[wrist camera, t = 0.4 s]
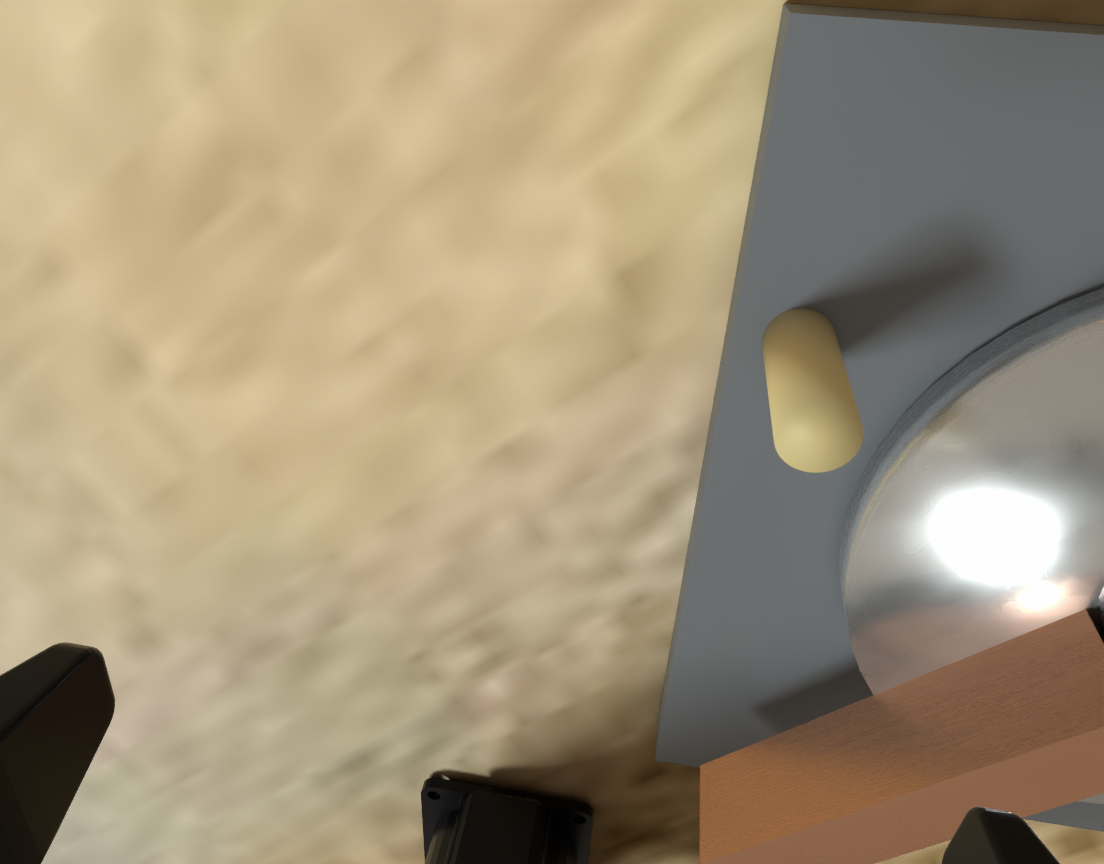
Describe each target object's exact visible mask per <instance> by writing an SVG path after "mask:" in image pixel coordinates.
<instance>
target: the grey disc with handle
mask: <svg viewBox="0 0 1104 864" xmlns="http://www.w3.org/2000/svg"><path fill="white" fill-rule="evenodd" d="M838 574H839V581H840V588H841V595H842V601H843V606H844V612H845V617H846V622H847V627H848V632H849V638H850V643H851V647H852V649H853V652H854V655H855V658H856V661H857V664H858V667H859V670H860V672H861V674H862V676H863V677H864V679H865V681H866V683H867V684H868V686H869V688H870V690H871V692H872V693H873V696H870V697H868V698H865V699H863V700H860V701H858V702H855V703H853V704H851V705H848V706H846V707H843V708H841V709H838V710H836V711H833V712H831V713H828V714H826V715H823V716H821V717H819V718H816V719H814V720H811V721H809V722H806V723H804V724H801V725H799V726H796V727H794V728H791V729H789V730H786V731H784V732H782V733H779V734H777V735H774V736H772V737H769V738H767V739H764V740H762V741H759V742H757V743H754V744H752V745H750V746H747V747H745V748H742V749H740V750H737V751H735V752H732V753H730V754H727V755H725V756H722V757H720V758H718V759H715V760H713V761H710V762H708V763H705V764H703V765H700V857H699V864H874V863H877V862H880V861H883V860H887V859H890V858H893V857H896V856H900V855H903V854H906V853H910V852H913V851H916V850H919V849H923V848H926V847H929V846H932V845H936V844H939V843H942V842H945V841H949V840H952V838H953V836H954V835H955V833H956V831H957V829H958V828H959V826H960V824H961V822H962V821H963V819H964V817H965V816H966V814H967V813H968V811H969V810H970V809H972V808H974V807H985V808H991V809H997V810H1002V811H1008V812H1011V813H1014V814H1016V815H1018V816H1019V817H1020V818H1023V817H1027V816H1030V815H1033V814H1037V813H1040V812H1043V811H1046V810H1050V809H1053V808H1056V807H1059V806H1063V805H1066V804H1069V803H1072V802H1076V801H1079V802H1088V803H1097V804H1104V287H1103V288H1101V289H1098V290H1096V291H1093V292H1091V293H1088V294H1086V295H1083V296H1080V297H1078V298H1075V299H1073V300H1070V301H1068V302H1065V303H1063V304H1060V305H1058V306H1056V307H1054V308H1052V309H1050V310H1048V311H1046V312H1044V313H1042V314H1040V315H1038V316H1036V317H1034V318H1032V319H1030V320H1028V321H1026V322H1024V323H1022V324H1020V325H1018V326H1016V327H1014V328H1012V329H1010V330H1009V331H1007V332H1006V333H1004V334H1003V335H1001V336H1000V337H998V338H996V339H995V340H993V341H992V342H990V343H989V344H987V345H986V346H984V347H982V348H981V349H979V350H978V351H976V352H975V353H973V354H972V355H970V356H968V357H967V358H966V359H965V360H963V361H962V362H961V363H960V364H958V365H957V366H956V367H955V368H953V369H952V370H951V371H950V372H948V373H947V374H946V375H945V376H943V377H942V378H941V379H940V380H939V381H937V382H936V383H935V384H934V385H932V386H931V387H930V388H929V389H928V390H927V391H926V392H925V393H924V394H923V395H922V396H921V397H920V398H919V399H918V400H917V401H916V402H915V403H914V404H913V405H912V406H911V407H910V408H909V409H908V410H907V411H906V412H905V413H904V414H903V415H902V416H901V417H900V419H899V420H898V421H897V423H896V424H895V425H894V427H893V428H892V429H891V430H890V432H889V433H888V434H887V436H886V437H885V438H884V440H883V441H882V442H881V443H880V445H879V446H878V447H877V449H876V450H875V452H874V454H873V455H872V457H871V459H870V461H869V462H868V464H867V466H866V468H865V469H864V471H863V473H862V475H861V476H860V478H859V480H858V482H857V485H856V487H855V490H854V492H853V495H852V497H851V500H850V503H849V505H848V508H847V510H846V513H845V518H844V523H843V527H842V532H841V537H840V542H839V564H838Z"/></svg>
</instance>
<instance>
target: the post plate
mask: <svg viewBox="0 0 1104 864" xmlns="http://www.w3.org/2000/svg"><path fill="white" fill-rule="evenodd" d="M1103 287H1104V25H1089V24H1075V23H1061V22H1046V21H1032V20H1018V19H1004V18H989V17H975V16H961V15H946V14H932V13H918V12H904V11H889V10H875V9H861V8H846V7H832V6H818V5H804V4H789V3H784V4H783V10H782V15H781V21H780V27H779V32H778V38H777V44H776V49H775V55H774V61H773V67H772V72H771V78H770V84H769V89H768V95H767V101H766V106H765V112H764V118H763V124H762V129H761V135H760V141H759V146H758V152H757V158H756V163H755V169H754V175H753V181H752V186H751V192H750V198H749V203H748V209H747V215H746V220H745V226H744V232H743V237H742V243H741V249H740V255H739V260H738V266H737V272H736V277H735V283H734V289H733V294H732V300H731V306H730V312H729V317H728V323H727V329H726V334H725V340H724V346H723V351H722V357H721V363H720V368H719V374H718V380H717V386H716V391H715V397H714V403H713V408H712V414H711V420H710V425H709V431H708V437H707V443H706V448H705V454H704V460H703V465H702V471H701V477H700V482H699V488H698V494H697V499H696V505H695V511H694V517H693V522H692V528H691V534H690V539H689V545H688V551H687V556H686V562H685V568H684V574H683V579H682V585H681V591H680V596H679V602H678V608H677V613H676V619H675V625H674V631H673V636H672V642H671V648H670V653H669V659H668V665H667V670H666V676H665V682H664V687H663V693H662V699H661V705H660V710H659V716H658V722H657V736H656V754H655V761H659V762H665V763H671V764H678V765H684V766H690V767H697V768H700V765H703V764H705V763H708V762H710V761H713V760H715V759H718V758H720V757H722V756H725V755H727V754H730V753H732V752H735V751H737V750H740V749H742V748H745V747H747V746H750V745H752V744H754V743H757V742H759V741H762V740H764V739H767V738H769V737H772V736H774V735H777V734H779V733H782V732H784V731H786V730H789V729H791V728H794V727H796V726H799V725H801V724H804V723H806V722H809V721H811V720H814V719H816V718H819V717H821V716H823V715H826V714H828V713H831V712H833V711H836V710H838V709H841V708H843V707H846V706H848V705H851V704H853V703H855V702H858V701H860V700H863V699H865V698H868V697H870V696H873V693H872V692H871V690H870V688H869V686H868V684H867V683H866V681H865V679H864V677H863V676H862V674H861V672H860V670H859V667H858V664H857V661H856V658H855V655H854V652H853V649H852V647H851V643H850V638H849V632H848V627H847V622H846V617H845V612H844V606H843V601H842V595H841V588H840V581H839V574H838V564H839V542H840V537H841V532H842V527H843V523H844V518H845V513H846V510H847V508H848V505H849V503H850V500H851V497H852V495H853V492H854V490H855V487H856V485H857V482H858V480H859V478H860V476H861V475H862V473H863V471H864V469H865V468H866V466H867V464H868V462H869V461H870V459H871V457H872V455H873V454H874V452H875V450H876V449H877V447H878V446H879V445H880V443H881V442H882V441H883V440H884V438H885V437H886V436H887V434H888V433H889V432H890V430H891V429H892V428H893V427H894V425H895V424H896V423H897V421H898V420H899V419H900V417H901V416H902V415H903V414H904V413H905V412H906V411H907V410H908V409H909V408H910V407H911V406H912V405H913V404H914V403H915V402H916V401H917V400H918V399H919V398H920V397H921V396H922V395H923V394H924V393H925V392H926V391H927V390H928V389H929V388H930V387H931V386H932V385H934V384H935V383H936V382H937V381H939V380H940V379H941V378H942V377H943V376H945V375H946V374H947V373H948V372H950V371H951V370H952V369H953V368H955V367H956V366H957V365H958V364H960V363H961V362H962V361H963V360H965V359H966V358H967V357H968V356H970V355H972V354H973V353H975V352H976V351H978V350H979V349H981V348H982V347H984V346H986V345H987V344H989V343H990V342H992V341H993V340H995V339H996V338H998V337H1000V336H1001V335H1003V334H1004V333H1006V332H1007V331H1009V330H1010V329H1012V328H1014V327H1016V326H1018V325H1020V324H1022V323H1024V322H1026V321H1028V320H1030V319H1032V318H1034V317H1036V316H1038V315H1040V314H1042V313H1044V312H1046V311H1048V310H1050V309H1052V308H1054V307H1056V306H1058V305H1060V304H1063V303H1065V302H1068V301H1070V300H1073V299H1075V298H1078V297H1080V296H1083V295H1086V294H1088V293H1091V292H1093V291H1096V290H1098V289H1101V288H1103ZM1021 819H1027V820H1033V821H1040V822H1046V823H1052V824H1059V825H1065V826H1072V827H1078V828H1084V829H1091V830H1097V831H1103V832H1104V804H1097V803H1088V802H1079V801H1076V802H1072V803H1069V804H1066V805H1063V806H1059V807H1056V808H1053V809H1050V810H1046V811H1043V812H1040V813H1037V814H1033V815H1030V816H1027V817H1023V818H1021Z"/></svg>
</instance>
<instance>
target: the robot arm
mask: <svg viewBox="0 0 1104 864" xmlns="http://www.w3.org/2000/svg"><path fill="white" fill-rule="evenodd" d="M114 708H115V698H114V693H113V690H112V686H111V682H110V679H109V675H108V671H107V668H106V664H105V660H104V657H103V655H102V653H101V652H100V651H99V650H98V649H97V648H94V647H90V646H84V645H79V644H73V643H59V644H56V645H53V646H51V647H49V648H47V649H45V650H44V651H42V652H40V653H38V654H37V655H35V656H33V657H32V658H30V659H28V660H26V661H25V662H23V663H21V664H19V665H18V666H16V667H14V668H12V669H11V670H9V671H7V672H5V673H4V674H2V675H0V864H41V862H42V860H43V858H44V856H45V855H46V853H47V851H48V849H49V847H50V845H51V843H52V841H53V839H54V837H55V835H56V833H57V831H58V829H59V827H60V825H61V823H62V821H63V819H64V817H65V815H66V813H67V811H68V809H69V807H70V805H71V802H72V800H73V798H74V796H75V794H76V792H77V790H78V788H79V786H80V784H81V782H82V780H83V778H84V776H85V774H86V772H87V770H88V768H89V766H90V764H91V761H92V759H93V757H94V755H95V753H96V751H97V749H98V747H99V745H100V743H101V741H102V739H103V737H104V735H105V733H106V731H107V729H108V727H109V724H110V722H111V720H112V717H113V713H114ZM421 801H422V818H423V835H424V851H425V864H588V856H589V848H590V840H591V832H592V824H593V815H594V810H593V808H592V807H591V806H590V805H589V804H587V803H584V802H579V801H573V800H567V799H561V798H555V797H549V796H543V795H537V794H531V793H524V792H518V791H512V790H506V789H500V788H494V787H488V786H482V785H475V784H469V783H463V782H457V781H451V780H445V779H439V778H429V779H427V780H426V781H425V782H424V785H423V788H422V792H421ZM942 864H1059V862H1058V861H1057V860H1056V859H1055V857H1054V856H1053V855H1052V854H1051V853H1050V851H1049V850H1048V849H1047V848H1046V846H1045V845H1044V844H1043V843H1042V842H1041V840H1040V839H1039V838H1038V837H1037V836H1036V834H1035V833H1034V832H1033V831H1032V829H1031V828H1030V827H1029V826H1028V825H1027V823H1026V822H1025V821H1024V820H1023V819H1021V818H1020V817H1019V816H1018V815H1016V814H1014V813H1011V812H1008V811H1002V810H997V809H991V808H985V807H974V808H972V809H970V810H969V811H968V813H967V814H966V816H965V817H964V819H963V821H962V822H961V824H960V826H959V828H958V829H957V831H956V833H955V835H954V836H953V838H952V840H951V842H950V843H949V845H948V847H947V849H946V851H945V853H944V856H943V860H942Z"/></svg>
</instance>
